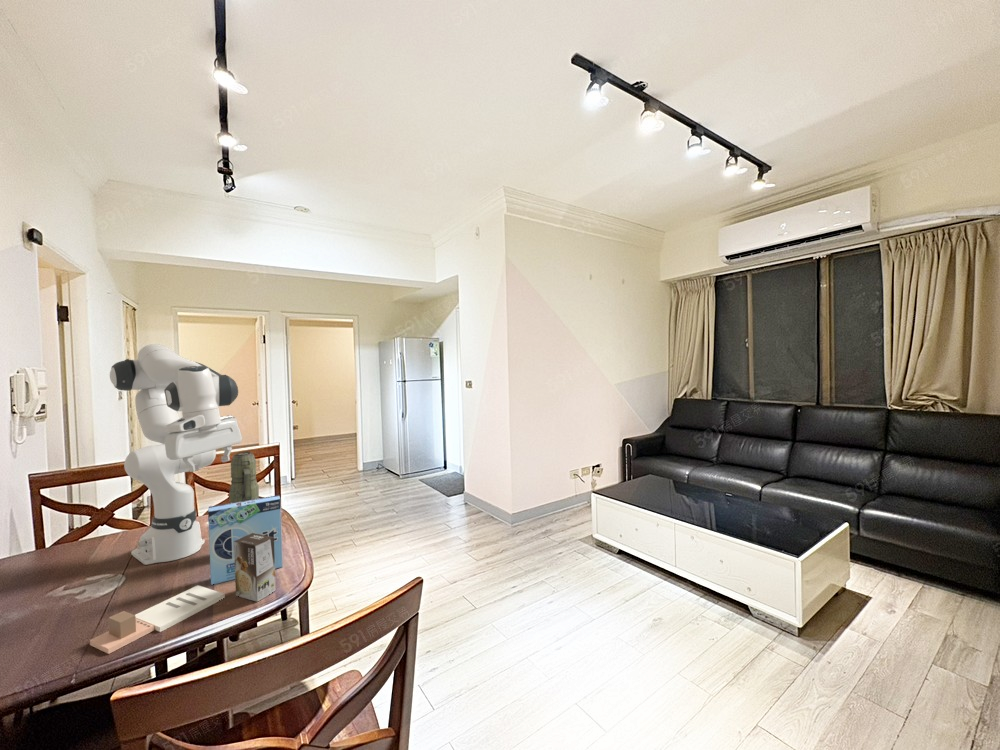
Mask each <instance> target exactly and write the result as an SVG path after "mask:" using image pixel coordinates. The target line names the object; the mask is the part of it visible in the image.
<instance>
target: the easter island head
mask: <svg viewBox="0 0 1000 750" xmlns="http://www.w3.org/2000/svg"><path fill="white" fill-rule="evenodd" d="M230 478H231V481H230V486H229V490H228V491H229V493H228V494H229V503H235V502H241V501H247V500H253V499H259V498H260V496H259V495H260V492H259V483H258V480H257V459H256V458H255V455H254V453H253V452H250V451H244V452H238V453H237V452H236V453H235V454H234V455H233V456H232V458H231V460H230Z"/></svg>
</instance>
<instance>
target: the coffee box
mask: <svg viewBox="0 0 1000 750" xmlns="http://www.w3.org/2000/svg"><path fill="white" fill-rule="evenodd" d="M234 557H235V579H234V580H235V581H234V582H235V583H234V584H235V585H234V586H235V596H236V597H238V596H239V598H243V599H245V600H249V601H253V602H260V601H262V600H263V599H265V598H266V597H268V596H270V595H271V594H273V593H274V592H273V591H275V590H276V591H277V589H276V569H275V554H274V537H270V536H265V535H260V534H255V533H252V534H249V535H247V536H244V537H242V538H240V539H238V540H236V541H234ZM276 591H275V592H276ZM272 592H273V593H272ZM269 594H270V595H269Z"/></svg>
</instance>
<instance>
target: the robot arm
mask: <svg viewBox="0 0 1000 750" xmlns="http://www.w3.org/2000/svg"><path fill="white" fill-rule="evenodd" d="M109 371H110V372H109V379H110V382H111V384H112V385H113V386H114V388H115V389H117V390H118V391H125V392H126V391H129V392H130V391H132V390H133V391H138V390H139V391H138V392H137V393H136V395H135V397H134V398H135V399H134V401H135V402H134V403H135V405H134V406H135V410H136V415H137V419H138V421H139V425H140V428H141V431H142V435H143V436H144V437H145V438H146V439H147V440H149V441H152V442H156V443H159V444H155V445H148V446H145V447H142V448H138V449H135V450H132V451H130V452H129V453H128V455H127V456H126V458H125V459H124V463H123V465H124V466H123V468H124V471H125V472H126V474H127V475H128V477H130V478H131V479H133V480H136V481H138V482H140V483H142V484H143V485H144V486H146V488H148V490H149V492H150V493H151V496H152V501H153V510H154V513H153V514H154V515H152V516H151V519H150V520H151V525H150V527H149V528H148V529H147V530H146V531H145V532H144V533H143V534H142V535H140V537H139V541H138V542H137V546H138V547H136V548H135V549H133V550H132V551H131V553H130V555H131V556H132V557H134V558H135V559H137V560H138V561H139V562H141V563H142V564H143V565H152V564H157V563H165V562H172V561H177V560H181V559H183V558H186V557H189V556H192V555H194V554H196V553H197V552H198V551H199V550H201V548H202V546H203V545H204V544H205V541H206V539H203V538H202V532H201V526H200V522H199V521H198V520H197V510H196V508H195V491H194V489H193V487H192V486H191V485H190V484H186V483H185V482H180V481H179V482H178V481H175V478H174V477H175V475H176V474H182V473H183V474H184V473H187V472H190V473H194V472H198V471H200V470H199V469H203V468H205V467H209V466H211V465H212V464H213V463H214V461H215V459H216V457H217V450H219V449H222V451H223V454H222V456H220V460H221V462H222V463H227V462H228V463H229V462H231V458H230V456H231V455H230V454H231V452H232V450H233V448H232V447H233V446H235V445H237V444H238V445H239V444H240V443H242V440H243V436H242V433H241V429H240V427H239V423H238V419H237V417H236V416H233V415H232V414H231V415H229V414H228V415H226V416H221V412H220V408H219V407H225V406H226V407H229V406H230V405H232V403H234V402H235V401H236V399H237V398H238V396H239V387H238V384H237V382H236V381H235V379H234V378H232V377H231V376H228V375H227V374H222V373H221V374H220V373H219V372H218V371H215V370H214V369H212V368H211V367H209V366H207V365H205V364H203V363H200V362H197V361H195V360H191V359H188V358H185V357H183V356H181V355H179V354H178V353H176V352H175V351H174V350H173V349H171V348H169V347H167V346H165V345H162V344H158V343H152V344H147V345H144V346H143V347H141V349H140V350H139V351H138V352H137V359H129V358H126V359H124V360H122V361H118V362H115V363H114V364H113V365H112V366H111V369H110V370H109ZM179 412H181V415H182V417H181V418H180V415H179Z"/></svg>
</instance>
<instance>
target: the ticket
mask: <svg viewBox="0 0 1000 750" xmlns="http://www.w3.org/2000/svg"><path fill="white" fill-rule="evenodd" d="M225 596H226V594H225V593H224V592H220V591H217V590H213V589H211V588H208V587H205V586H202V585H200V584H199V585H198V584H197V585H195V586H193V587H191V588H189V589H187V590H184V591H182V592H181V593H178V594H177V595H174V596H172V597H170V598H168V599H167V598H166V599H165V600H164V601H161V602H160V603H157V604H155V605H152V606H150V607H149V608H147V609H145V610H142V611H140V612H138V613H136V614H134V615H135V617H136V619H139V620H141V621H143V622H146V623H148V624H151V625H153V626H154V631H157V632H159V633H161V632H163V631H165V630H167V629H168V628H171V627H172V626H174V625H177V624H179V623H180V622H182V621H184V620H186V619H188V618H190V617H192V616H193V615H196V614H198V613H199V612H201V611H203V610H205V609H206V608H209V607H210V606H212V605H215V604H216V603H218V602H220V601H222V600H223V598H224V599H226V597H225ZM221 599H222V600H221ZM219 600H220V601H219Z"/></svg>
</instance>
